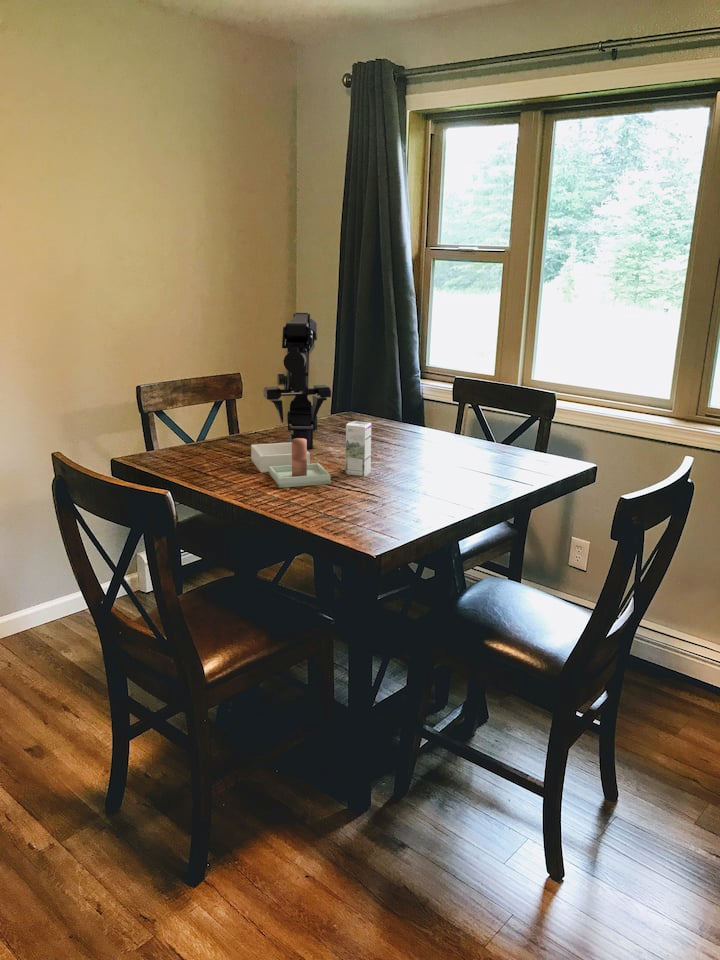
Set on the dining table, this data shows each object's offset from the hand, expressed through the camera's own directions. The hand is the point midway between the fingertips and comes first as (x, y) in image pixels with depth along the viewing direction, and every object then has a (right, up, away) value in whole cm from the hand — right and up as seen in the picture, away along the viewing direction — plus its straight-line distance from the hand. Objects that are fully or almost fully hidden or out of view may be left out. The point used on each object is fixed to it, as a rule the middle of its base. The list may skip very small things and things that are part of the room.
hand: (297, 421), depth 220 cm
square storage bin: (-5, -13, -1) cm, 14 cm away
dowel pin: (+2, -16, -14) cm, 21 cm away
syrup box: (+17, -15, -8) cm, 25 cm away
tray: (+2, -17, -14) cm, 22 cm away
